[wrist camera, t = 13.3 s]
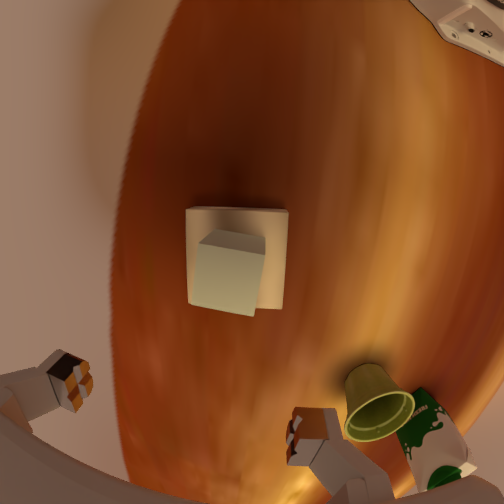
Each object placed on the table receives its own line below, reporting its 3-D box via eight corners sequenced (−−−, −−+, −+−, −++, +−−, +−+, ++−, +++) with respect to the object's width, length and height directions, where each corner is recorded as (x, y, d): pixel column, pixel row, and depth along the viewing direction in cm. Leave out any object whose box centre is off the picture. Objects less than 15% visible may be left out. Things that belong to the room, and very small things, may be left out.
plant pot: (322, 374, 35) (333, 418, 27) (382, 341, 33) (407, 379, 25) (346, 409, 37) (357, 450, 28) (399, 380, 35) (420, 417, 27)
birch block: (285, 209, 30) (288, 212, 26) (280, 294, 33) (282, 309, 29) (195, 205, 31) (185, 209, 27) (196, 289, 33) (188, 303, 29)
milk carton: (422, 381, 35) (475, 469, 16) (441, 399, 36) (486, 474, 17) (382, 414, 37) (417, 507, 17) (404, 428, 38) (437, 508, 19)
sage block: (265, 237, 27) (265, 255, 20) (256, 285, 28) (253, 316, 22) (214, 228, 27) (198, 243, 20) (208, 276, 28) (191, 304, 22)
